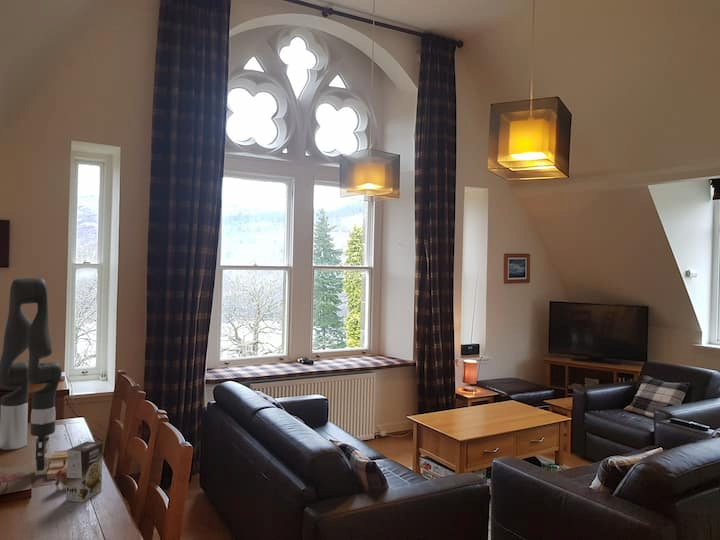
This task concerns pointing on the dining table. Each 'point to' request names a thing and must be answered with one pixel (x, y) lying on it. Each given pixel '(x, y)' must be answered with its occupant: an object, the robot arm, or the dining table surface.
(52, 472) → the board
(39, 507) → the dining table surface
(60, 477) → the bull figurine
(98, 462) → the coffee box
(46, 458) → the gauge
